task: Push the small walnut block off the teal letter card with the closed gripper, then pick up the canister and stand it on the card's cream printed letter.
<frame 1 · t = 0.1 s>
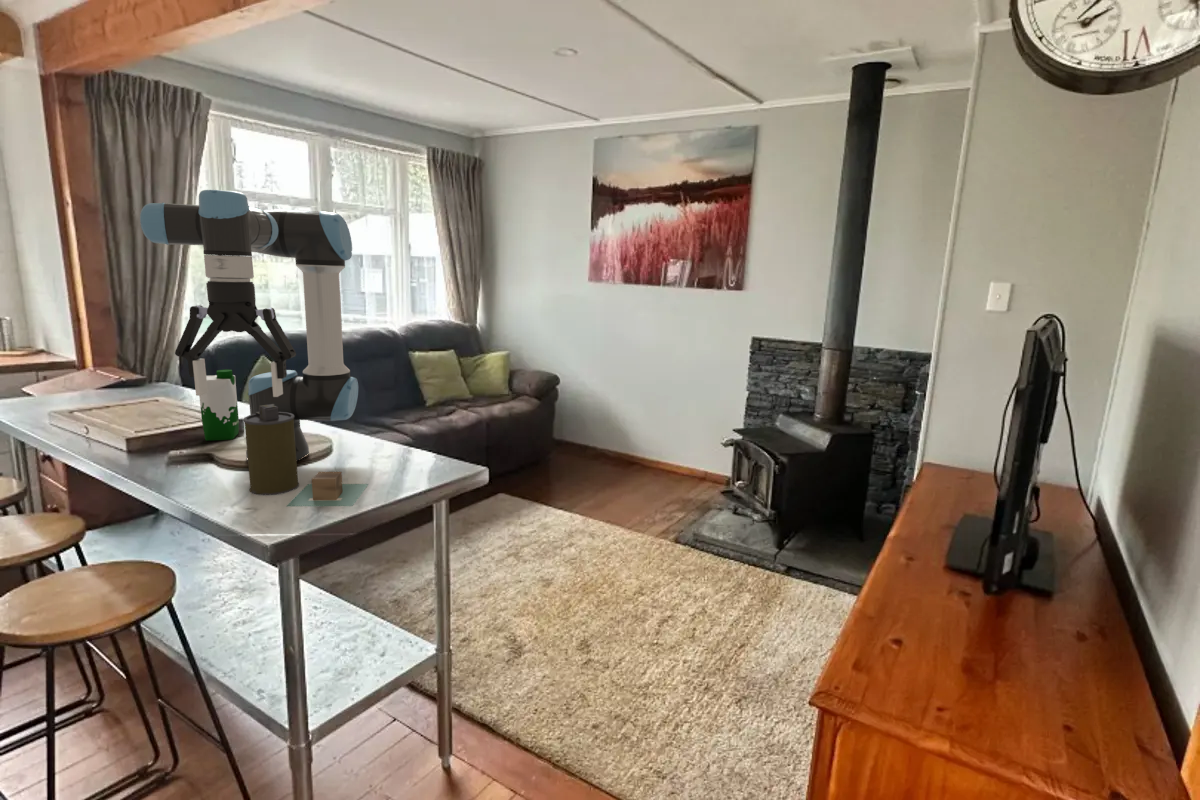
hand: (240, 395, 118), 28 cm above the table, fingers open, 13 cm apart
letter card: (329, 495, 144), on the table
block: (328, 496, 143), resting on letter card
canister: (274, 488, 147), on the table
milk carton: (222, 437, 186), on the table
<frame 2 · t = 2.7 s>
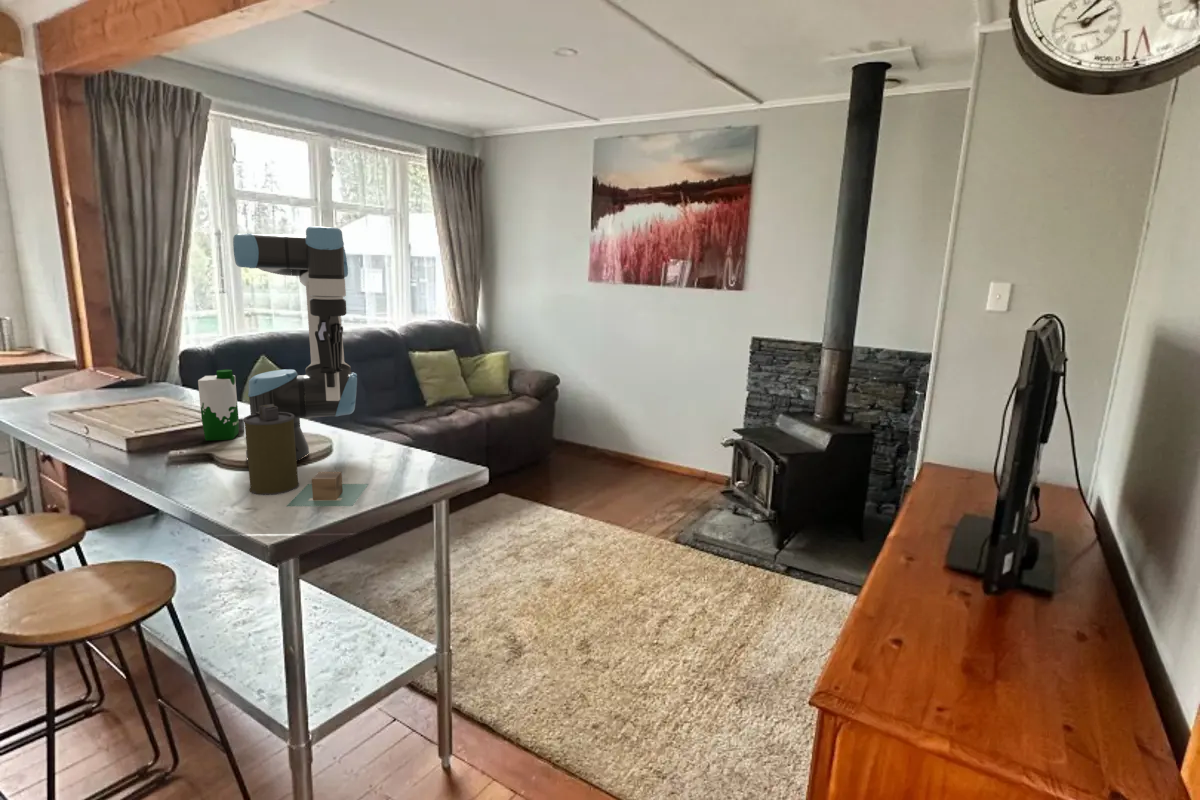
hand: (333, 400, 146), 21 cm above the table, fingers closed
nothing on the table moved.
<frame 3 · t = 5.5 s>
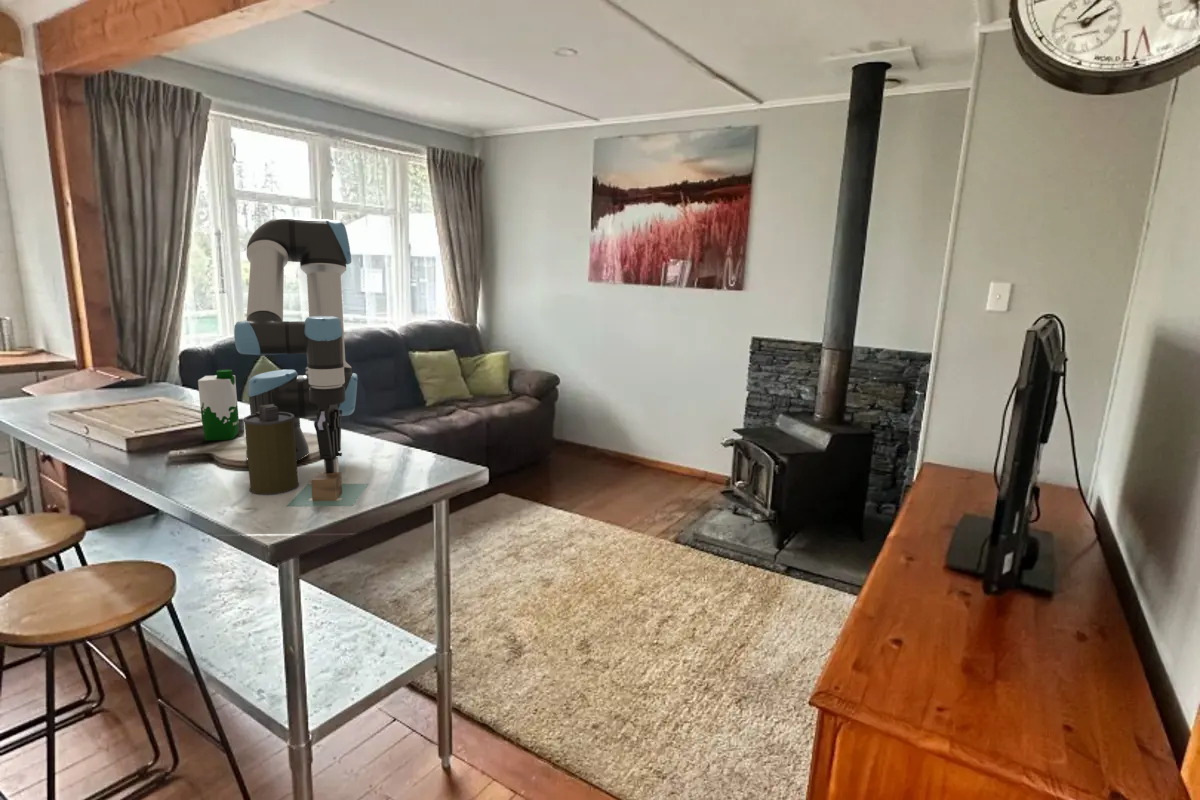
hand: (332, 484, 146), 2 cm above the table, fingers closed
block: (327, 496, 143), resting on letter card, touching gripper
everything else where it was.
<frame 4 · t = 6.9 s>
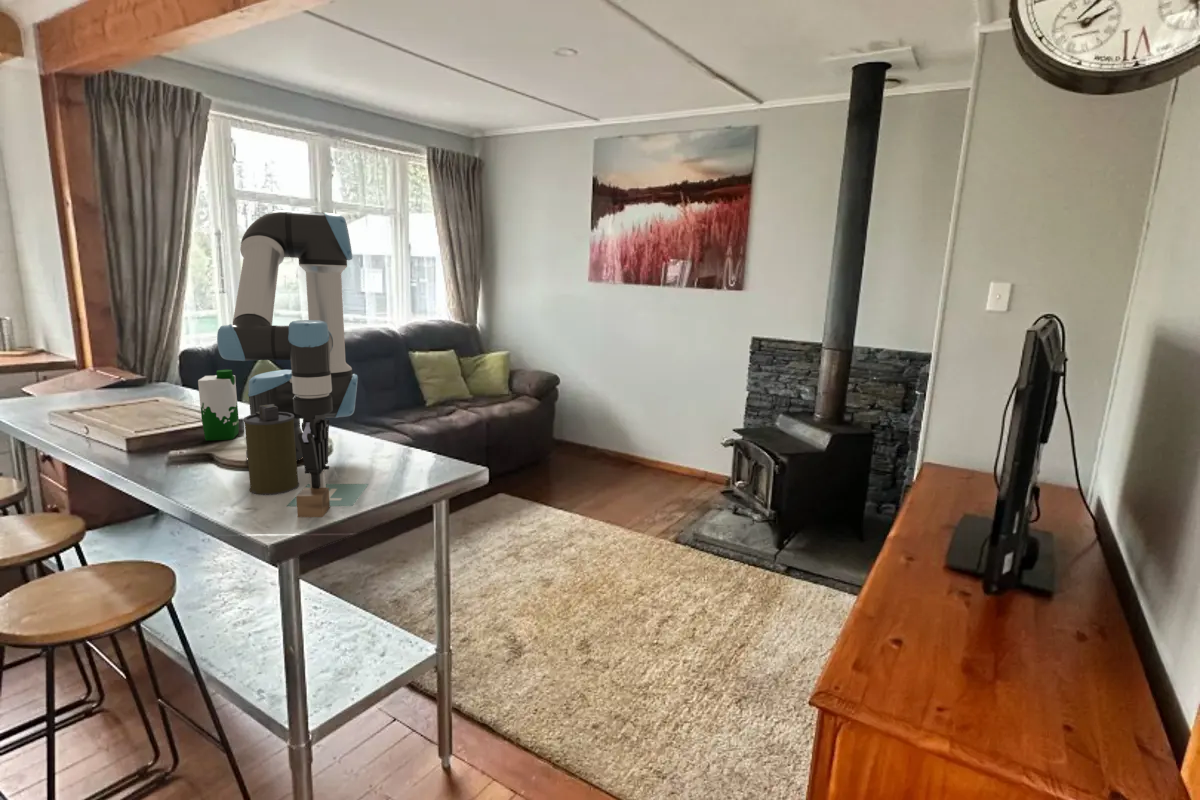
hand: (318, 499, 137), 2 cm above the table, fingers closed
block: (314, 513, 134), on the table, touching gripper
everything else where it was.
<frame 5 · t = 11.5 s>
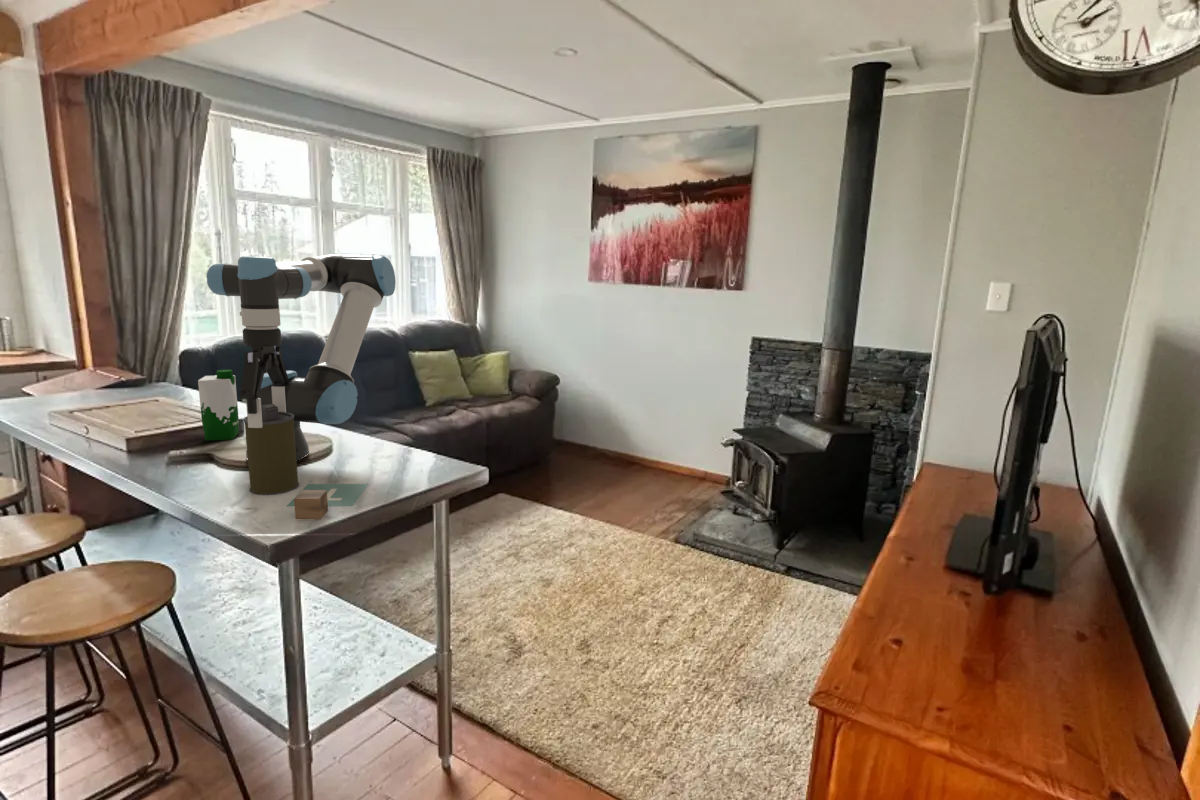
hand: (268, 420, 143), 17 cm above the table, fingers open, 13 cm apart
block: (312, 516, 133), on the table
everything else where it was.
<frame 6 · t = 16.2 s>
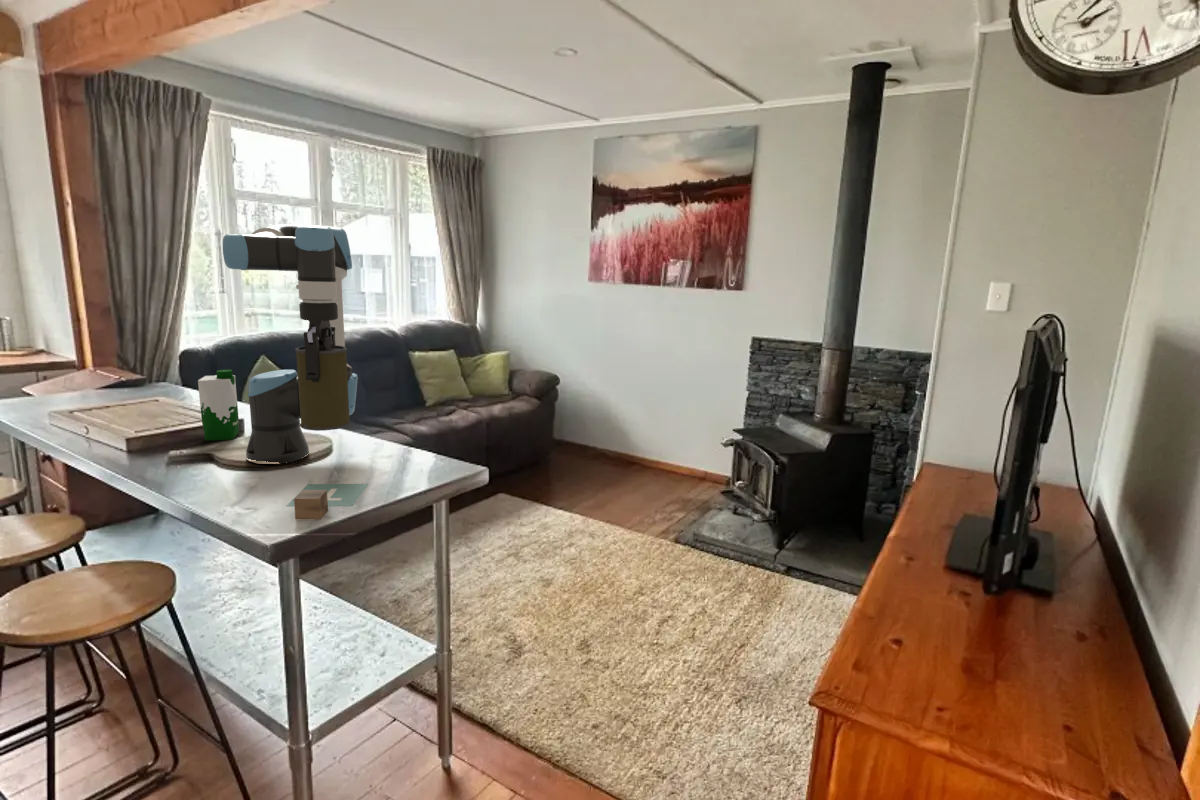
hand: (324, 405, 139), 21 cm above the table, fingers open, 6 cm apart
canister: (325, 425, 140), point 17 cm above the table, touching hand
everything else where it was.
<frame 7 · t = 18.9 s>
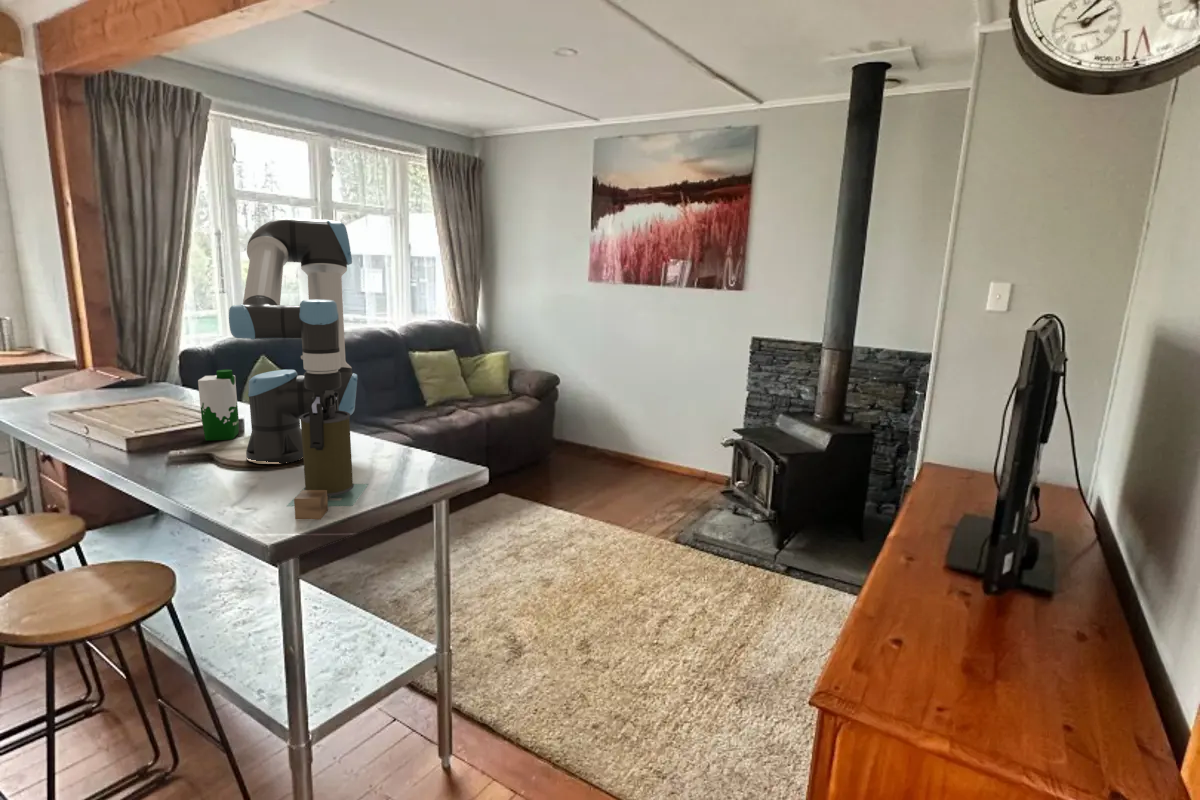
hand: (328, 470, 143), 6 cm above the table, fingers open, 6 cm apart
canister: (329, 489, 144), point 2 cm above the table, touching hand
everything else where it was.
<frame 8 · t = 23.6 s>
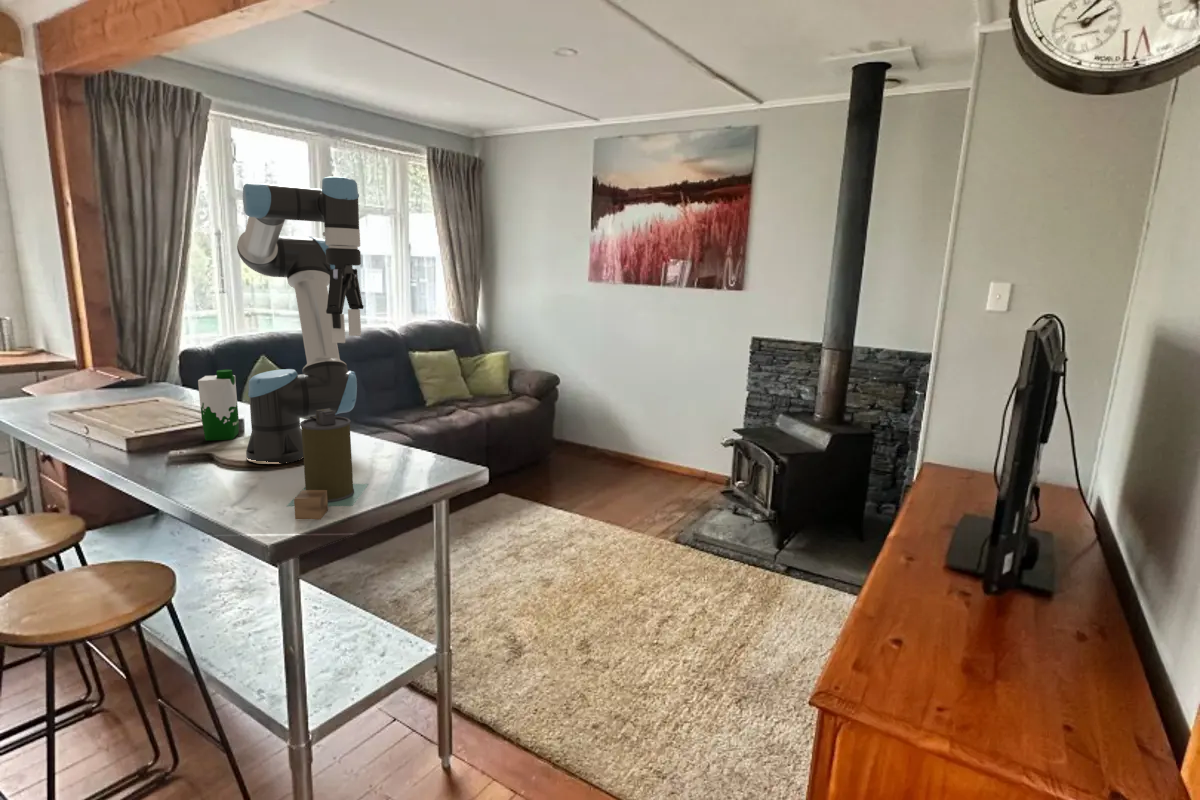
hand: (347, 339, 149), 35 cm above the table, fingers open, 13 cm apart
canister: (329, 495, 144), resting on letter card
everything else where it was.
at the end: canister inside the target area on the letter card (0.1 cm from its centre), point 0.1 cm above the letter card's base; canister tilted 0°; block inside the target area (10.3 cm from its centre), on the table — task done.
